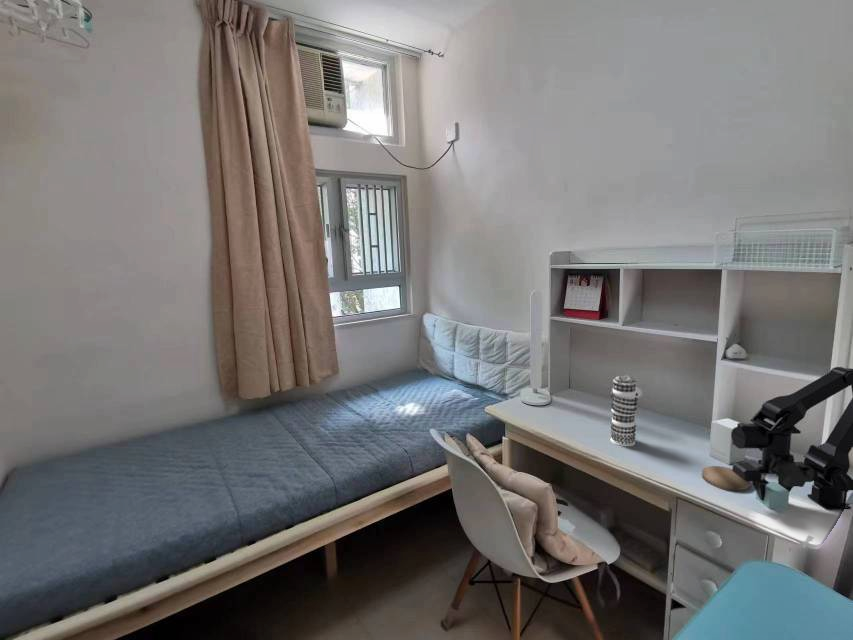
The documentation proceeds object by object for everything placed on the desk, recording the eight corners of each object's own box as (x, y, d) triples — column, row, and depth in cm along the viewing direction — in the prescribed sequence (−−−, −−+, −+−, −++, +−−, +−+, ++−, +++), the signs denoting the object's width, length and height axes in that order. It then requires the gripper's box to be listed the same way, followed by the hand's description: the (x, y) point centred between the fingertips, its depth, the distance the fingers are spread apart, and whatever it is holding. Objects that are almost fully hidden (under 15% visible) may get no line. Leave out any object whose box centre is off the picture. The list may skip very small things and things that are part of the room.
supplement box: (729, 465, 139) (731, 428, 137) (708, 455, 146) (710, 420, 144) (746, 461, 141) (748, 425, 139) (724, 451, 148) (727, 417, 146)
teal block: (774, 498, 120) (775, 481, 119) (787, 508, 115) (789, 491, 114) (755, 498, 120) (756, 481, 120) (768, 508, 115) (769, 491, 115)
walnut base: (733, 470, 135) (733, 465, 135) (759, 491, 124) (760, 486, 123) (694, 470, 136) (694, 466, 136) (716, 491, 124) (717, 486, 124)
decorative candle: (617, 433, 165) (619, 372, 161) (641, 441, 158) (643, 377, 154) (604, 440, 160) (605, 377, 156) (628, 449, 153) (630, 382, 149)
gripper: (761, 462, 108) (756, 517, 110) (839, 461, 106) (832, 517, 109) (733, 442, 119) (729, 493, 121) (803, 441, 117) (798, 493, 120)
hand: (771, 499), depth 118 cm, fingers closed on teal block, 5 cm apart
